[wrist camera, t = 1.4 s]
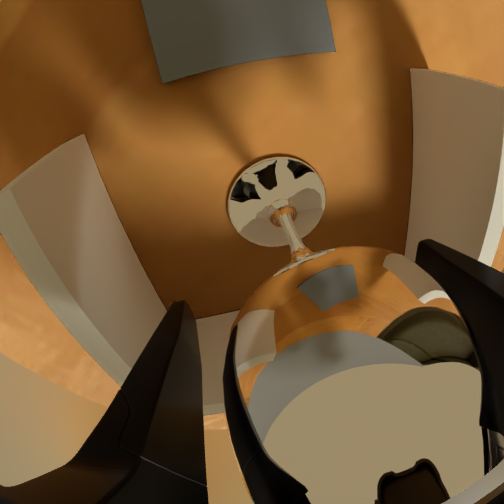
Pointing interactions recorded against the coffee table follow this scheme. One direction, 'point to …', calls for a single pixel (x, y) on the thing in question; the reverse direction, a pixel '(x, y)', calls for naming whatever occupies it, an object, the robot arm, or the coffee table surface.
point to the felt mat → (233, 32)
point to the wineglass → (349, 365)
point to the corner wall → (218, 327)
